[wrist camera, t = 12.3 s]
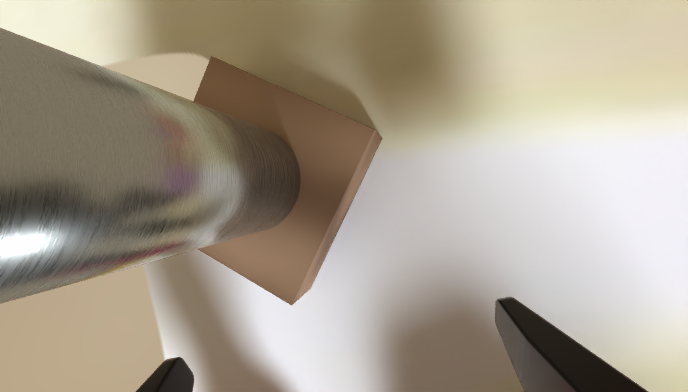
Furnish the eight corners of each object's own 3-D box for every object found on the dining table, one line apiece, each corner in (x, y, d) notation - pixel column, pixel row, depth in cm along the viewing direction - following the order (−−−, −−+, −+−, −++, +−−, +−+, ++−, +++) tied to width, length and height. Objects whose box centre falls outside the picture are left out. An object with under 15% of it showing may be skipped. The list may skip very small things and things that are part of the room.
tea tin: (297, 236, 17) (-6, 359, 5) (202, 227, 18) (-227, 306, 6) (303, 128, 17) (4, -25, 5) (207, 126, 18) (-229, -1, 6)
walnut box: (310, 288, 20) (291, 305, 17) (183, 214, 22) (147, 218, 19) (382, 138, 19) (374, 129, 16) (240, 74, 21) (211, 56, 18)
